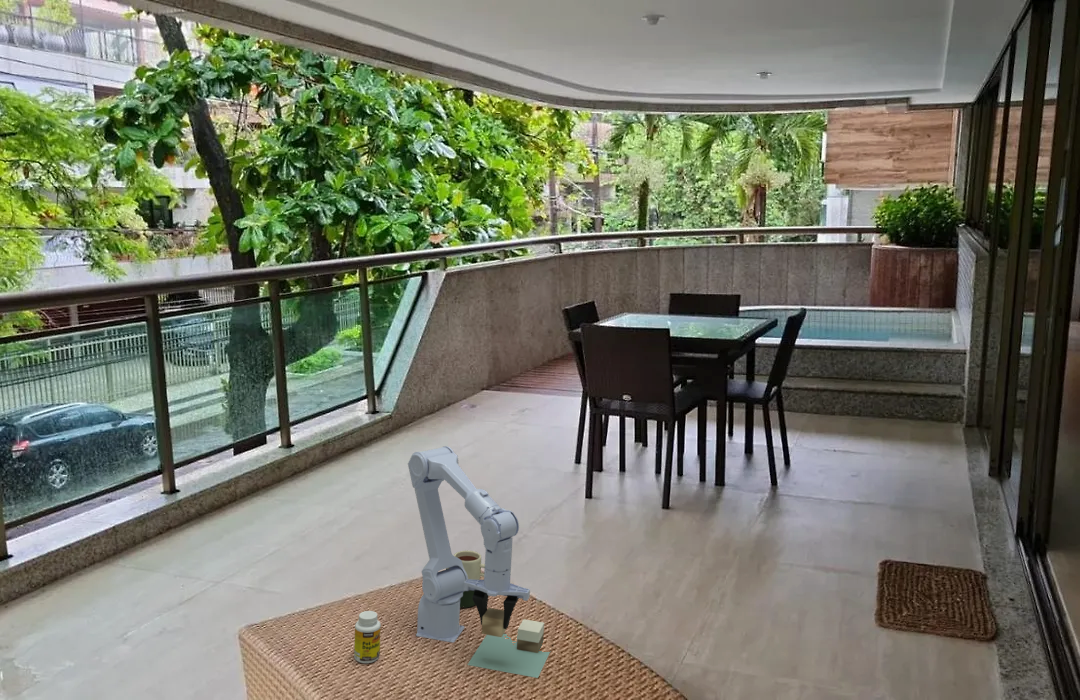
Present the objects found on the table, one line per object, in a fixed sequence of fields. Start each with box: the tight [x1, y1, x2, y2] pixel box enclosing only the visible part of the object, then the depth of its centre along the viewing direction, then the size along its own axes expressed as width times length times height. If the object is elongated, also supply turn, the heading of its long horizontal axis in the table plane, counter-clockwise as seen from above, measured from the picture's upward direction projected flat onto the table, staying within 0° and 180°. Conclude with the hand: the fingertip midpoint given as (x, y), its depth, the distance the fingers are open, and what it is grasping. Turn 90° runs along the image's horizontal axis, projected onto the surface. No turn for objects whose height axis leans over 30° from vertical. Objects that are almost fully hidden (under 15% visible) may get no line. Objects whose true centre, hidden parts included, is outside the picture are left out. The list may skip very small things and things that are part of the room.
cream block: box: [516, 619, 545, 643], centre depth 194 cm, size 5×5×2 cm
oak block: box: [481, 607, 507, 637], centre depth 186 cm, size 4×4×4 cm
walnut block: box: [517, 632, 545, 653], centre depth 195 cm, size 5×5×2 cm
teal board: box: [467, 633, 551, 679], centre depth 191 cm, size 16×16×1 cm
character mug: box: [445, 549, 485, 608], centre depth 214 cm, size 11×7×13 cm, turn 82°
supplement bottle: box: [353, 610, 382, 664], centre depth 186 cm, size 6×6×10 cm
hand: (494, 624), depth 186 cm, fingers closed on oak block, 4 cm apart
